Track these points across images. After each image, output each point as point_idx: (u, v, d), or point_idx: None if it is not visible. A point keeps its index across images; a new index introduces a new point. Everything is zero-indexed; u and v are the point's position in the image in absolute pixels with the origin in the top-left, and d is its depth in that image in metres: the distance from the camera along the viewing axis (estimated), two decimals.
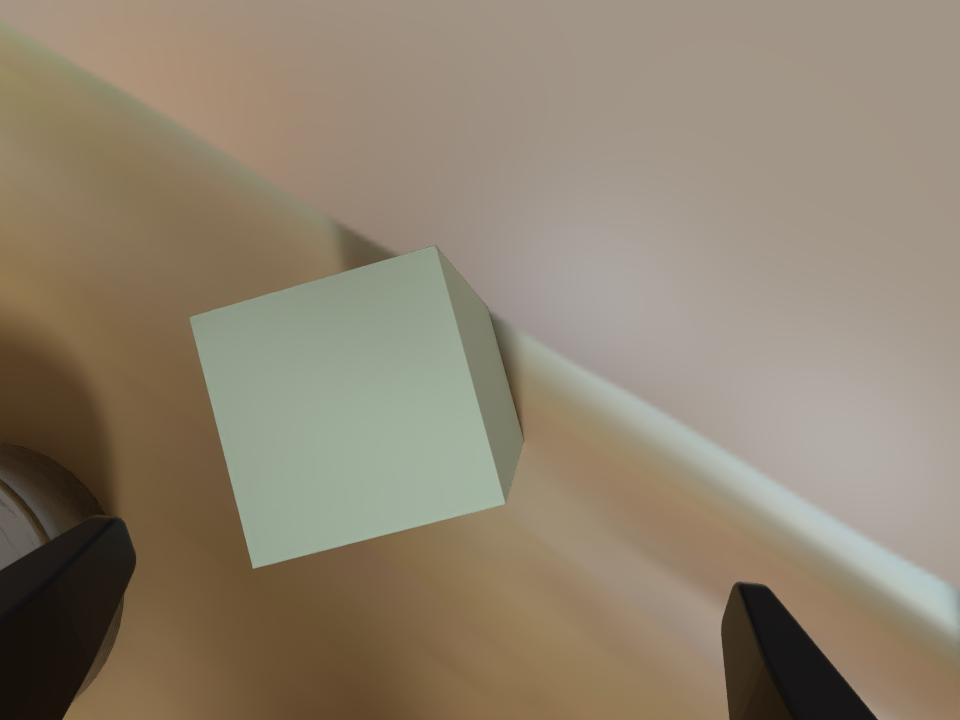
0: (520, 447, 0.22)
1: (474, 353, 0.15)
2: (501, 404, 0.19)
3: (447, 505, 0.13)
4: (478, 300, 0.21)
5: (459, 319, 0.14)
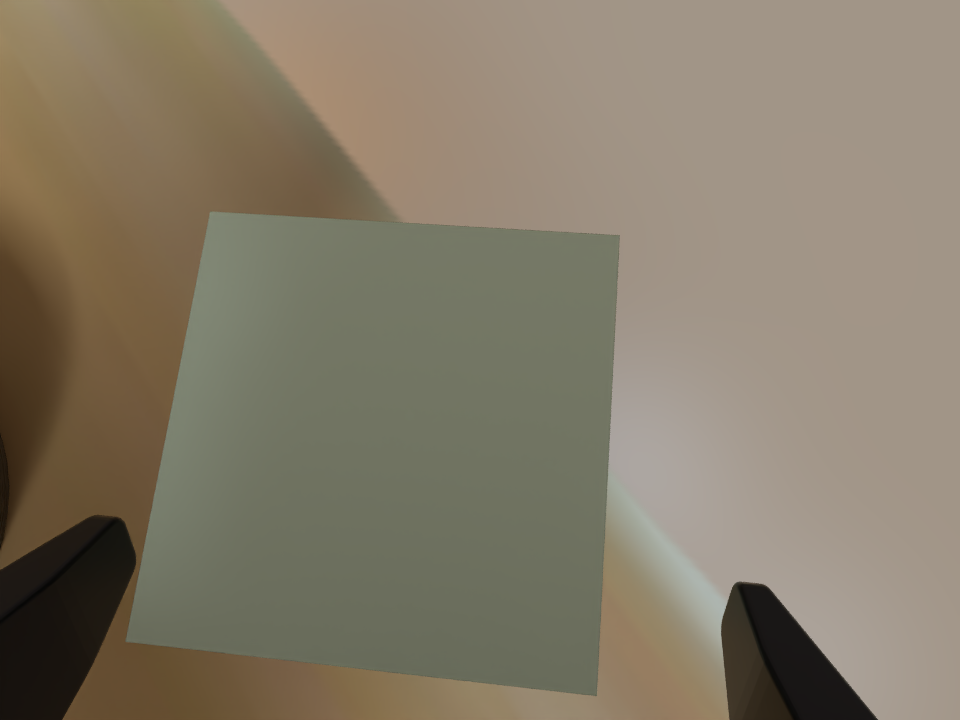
0: None
1: None
2: None
3: (494, 658, 0.07)
4: None
5: None
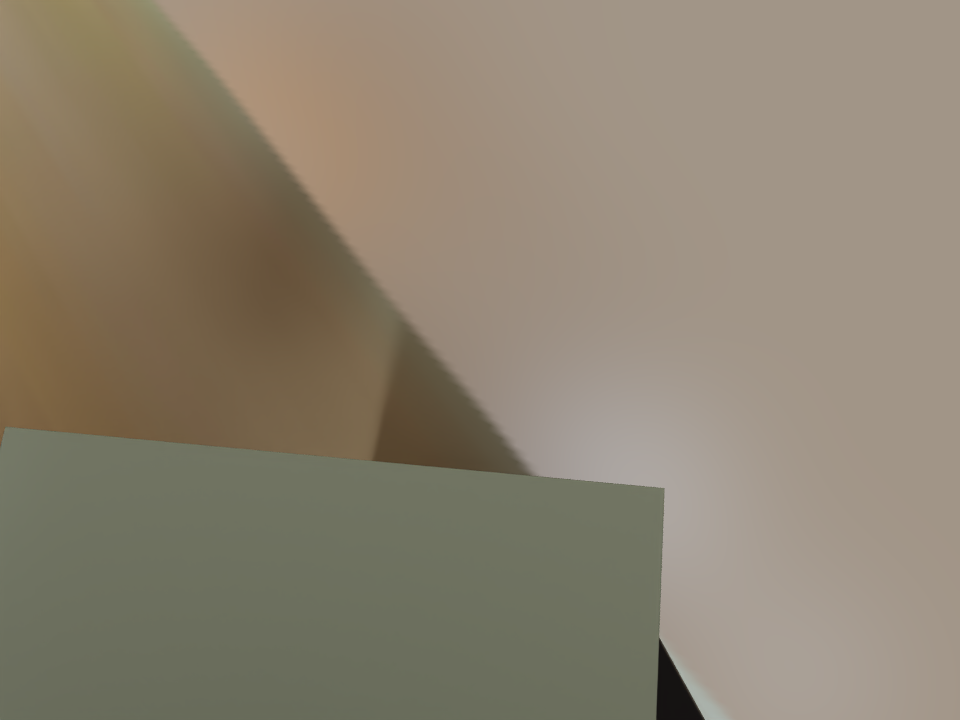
0: None
1: None
2: None
3: None
4: None
5: None
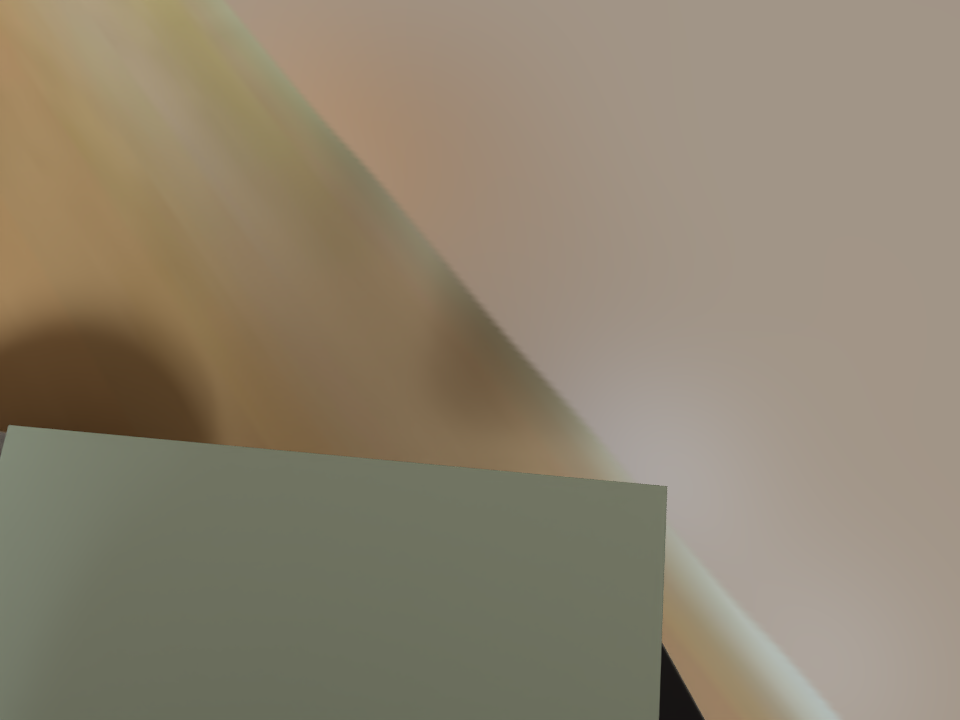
0: None
1: None
2: None
3: None
4: None
5: None
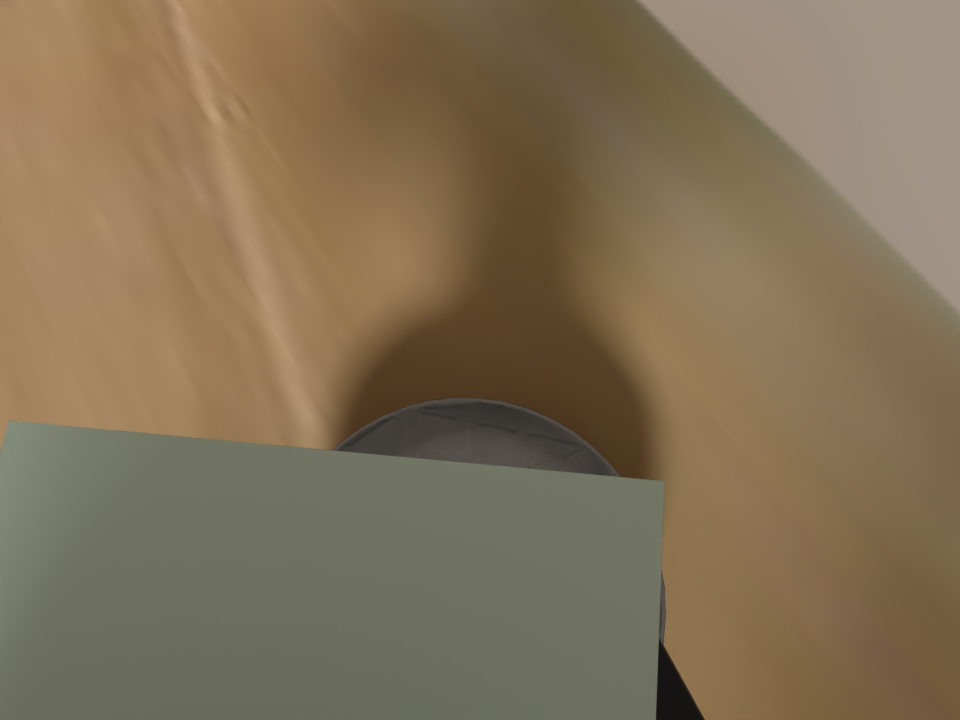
0: None
1: None
2: None
3: None
4: None
5: None
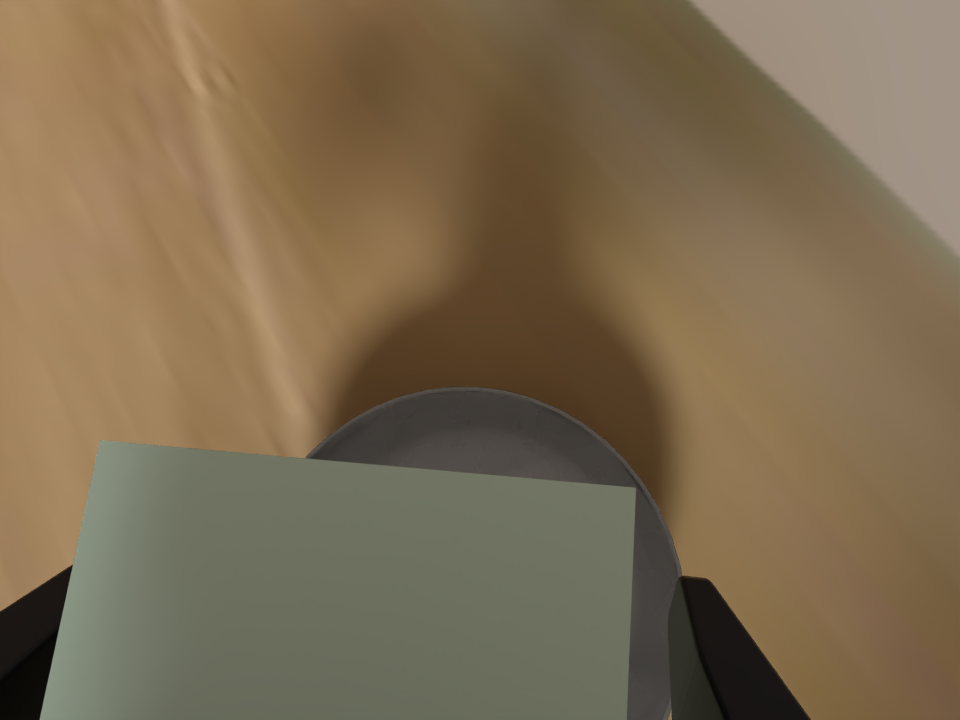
0: None
1: None
2: None
3: None
4: None
5: None
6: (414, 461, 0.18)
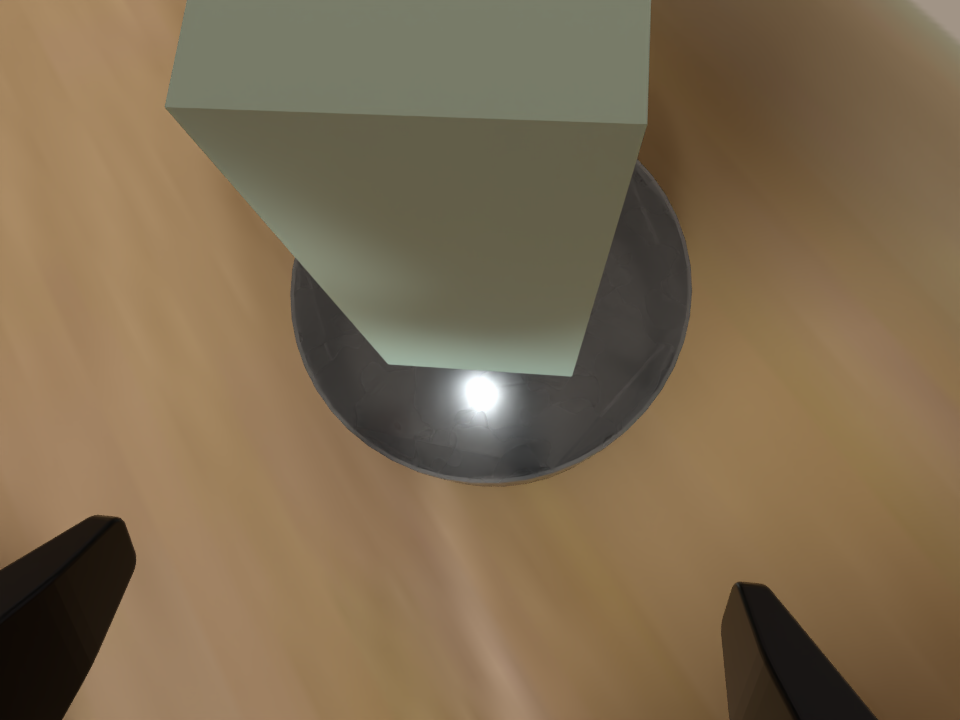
0: None
1: None
2: None
3: (541, 100, 0.07)
4: None
5: None
6: None
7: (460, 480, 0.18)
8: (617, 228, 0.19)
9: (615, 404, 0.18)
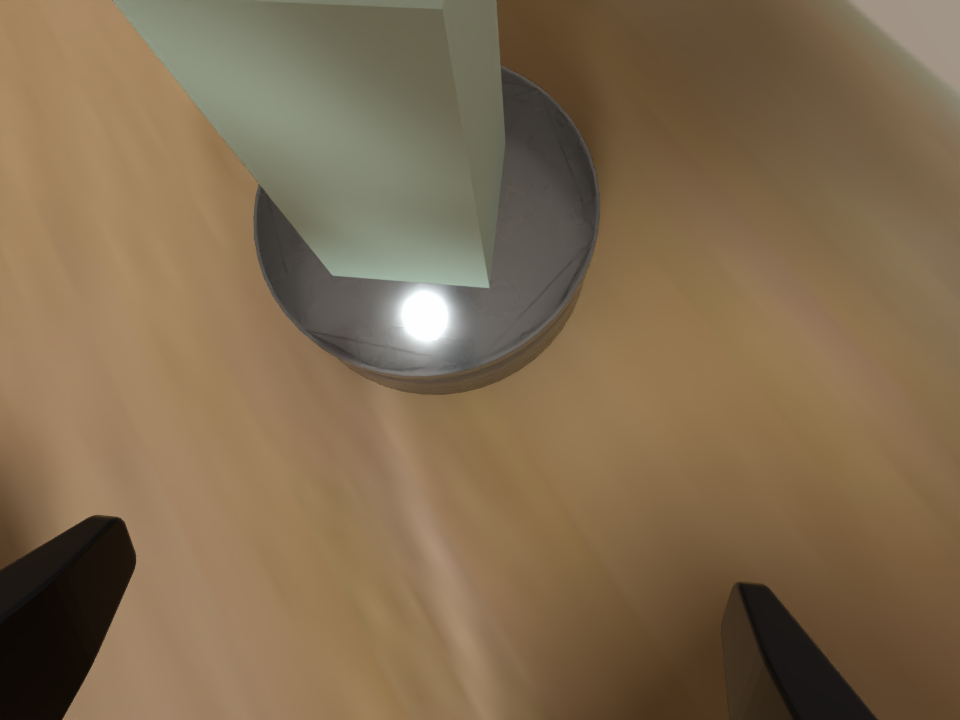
0: (483, 247, 0.18)
1: None
2: (481, 130, 0.16)
3: None
4: (499, 71, 0.19)
5: None
6: None
7: (395, 373, 0.21)
8: (538, 161, 0.22)
9: (530, 310, 0.21)
